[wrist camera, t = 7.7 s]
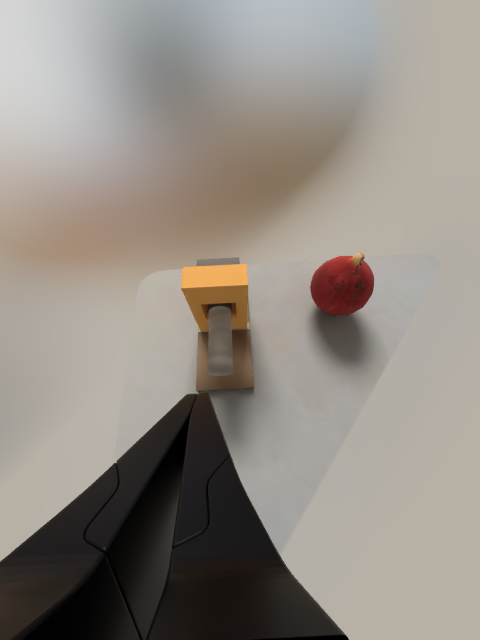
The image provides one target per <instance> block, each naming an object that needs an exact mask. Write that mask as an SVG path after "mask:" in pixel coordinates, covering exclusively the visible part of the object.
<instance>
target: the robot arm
mask: <svg viewBox="0 0 480 640" xmlns="http://www.w3.org/2000/svg"><path fill="white" fill-rule="evenodd" d="M0 640H349V639H348V637H347V636H346V635H345V634H344V633H343V631H342V630H341V629H340V628H339V627H338V626H337V625H336V624H335V622H334V621H333V620H332V619H331V618H330V617H329V616H328V615H327V613H326V612H325V611H324V610H323V609H322V608H321V607H320V605H319V604H318V603H317V602H316V601H315V600H314V599H313V597H312V596H311V595H310V594H309V593H308V592H307V591H306V590H305V589H304V587H303V586H302V585H301V584H300V583H299V582H298V580H297V579H296V578H295V577H294V576H293V575H292V573H291V572H290V570H289V569H288V568H287V566H286V565H285V563H284V561H283V560H282V558H281V557H280V555H279V553H278V552H277V550H276V548H275V546H274V544H273V543H272V541H271V539H270V537H269V535H268V533H267V531H266V530H265V528H264V526H263V524H262V522H261V520H260V518H259V516H258V515H257V513H256V511H255V509H254V507H253V505H252V503H251V501H250V500H249V498H248V496H247V493H246V491H245V489H244V487H243V485H242V483H241V481H240V479H239V476H238V474H237V471H236V469H235V466H234V463H233V460H232V458H231V455H230V452H229V449H228V447H227V444H226V441H225V438H224V435H223V433H222V430H221V427H220V424H219V421H218V419H217V416H216V413H215V410H214V407H213V404H212V402H211V399H210V396H209V394H208V393H201V394H198V395H197V394H187V395H186V396H184V397H183V398H182V399H181V400H180V401H179V402H178V403H177V404H176V405H175V406H174V407H173V408H172V409H171V410H170V411H169V412H168V413H167V414H166V415H165V416H164V417H162V418H161V419H160V420H159V421H158V422H157V423H156V424H155V425H154V426H153V427H152V428H151V429H150V430H149V431H148V432H147V433H146V434H145V435H144V436H143V437H141V438H140V439H139V440H138V441H137V442H136V443H135V444H134V445H133V446H132V447H131V448H130V449H129V450H128V451H127V452H126V453H125V454H124V455H123V456H122V457H121V458H119V459H118V460H117V464H116V463H114V464H113V465H112V466H111V467H110V468H109V469H108V470H107V471H106V472H105V473H104V474H103V475H102V476H100V477H99V478H98V479H97V480H96V481H95V482H94V483H93V484H92V485H91V486H89V487H88V488H87V489H86V490H85V491H84V492H83V493H82V494H80V495H79V496H78V497H77V498H76V499H75V500H73V501H72V502H71V503H70V504H69V505H68V506H66V507H65V508H64V509H63V510H62V511H61V512H59V513H58V514H57V515H56V516H55V517H54V518H52V519H51V520H50V521H49V522H47V523H46V524H45V525H44V526H43V527H41V528H40V529H39V530H38V531H37V532H35V533H34V534H33V535H32V536H31V537H29V538H28V539H27V540H26V541H25V542H23V543H22V544H21V545H20V546H19V547H17V548H16V549H15V550H14V551H13V552H11V553H10V554H9V555H8V556H7V557H5V558H4V559H3V560H2V561H1V562H0Z"/></svg>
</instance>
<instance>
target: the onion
mask: <svg viewBox="0 0 480 640" xmlns="http://www.w3.org/2000/svg"><path fill="white" fill-rule="evenodd" d="M363 259H364V255H363V254H361V253H358V254H357V255H354V256H339V257H336V258H334V259H331V260H329V261H326V262H325V263H324V264H323V265H322V266H320V267H319V268H318V269H317V270H316V272H315V273H314V275H313V278H312V282H311V287H310V289H311V295H312V298H313V300H314V302H315V303H316V305H317V306H318V307H319V308H320V309H321V310H323V311H324V312H326V313H329V314H331V315H349V314H351V313H353V312H355V311H357V310H359V309H361V308H363V307H364V305H365V304H366V303H367V301H368V300H369V298H370V297H371V295H372V292H373V287H374V276H373V273H372V271H371V269H370V267H369V265H368V264H367V263H366V262H365V261H364V260H363Z"/></svg>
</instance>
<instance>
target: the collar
mask: <svg viewBox="0 0 480 640" xmlns="http://www.w3.org/2000/svg"><path fill="white" fill-rule="evenodd" d="M181 289H182V291H183V293H184V296H185V298H186V300H187V302H188V304H189V307H190V309H191V311H192V313H193V315H194V318H195V320H196V322H197V324H198V327H199V329H200V331H207V330H209V313H208V304H219V303H232V313H231V325H232V329H245V328H247V309H248V277H247V265H246V264H234V265H215V266H195V267H183V273H182V285H181Z"/></svg>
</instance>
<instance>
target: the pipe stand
mask: <svg viewBox="0 0 480 640" xmlns="http://www.w3.org/2000/svg"><path fill="white" fill-rule="evenodd" d="M234 264H239V258H223V259H203V260H197V266H215V265H234ZM208 313H209V330H207V331H200V329H199V327H198V355H197V382H196V391H211V390H230V389H248V388H254V380H253V367H252V353H251V340H250V326H249V313H248V309H247V328H245V329H232V325H231V313H232V303H219V304H208Z"/></svg>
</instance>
